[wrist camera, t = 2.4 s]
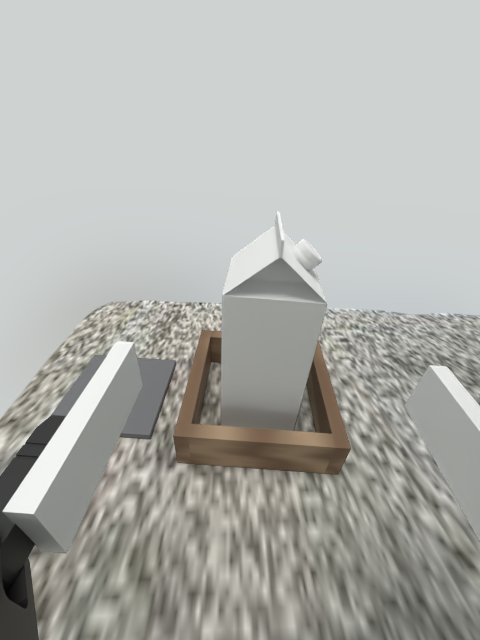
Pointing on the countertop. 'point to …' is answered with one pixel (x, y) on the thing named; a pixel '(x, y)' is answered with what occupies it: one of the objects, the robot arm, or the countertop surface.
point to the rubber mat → (147, 402)
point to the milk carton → (269, 330)
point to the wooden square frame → (260, 444)
